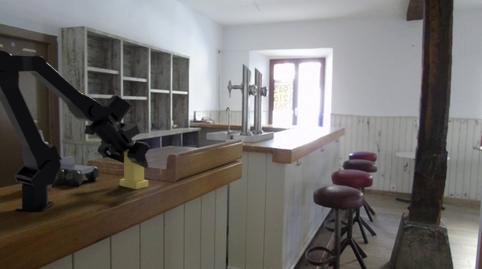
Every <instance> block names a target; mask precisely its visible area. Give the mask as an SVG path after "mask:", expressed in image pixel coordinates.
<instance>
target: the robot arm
mask: <svg viewBox="0 0 482 269" xmlns="http://www.w3.org/2000/svg"><path fill="white" fill-rule="evenodd" d="M21 72H23V73H25V72H28V73H30V74H31V75H32V76H33V77H34V78H36V79H37V80H38V81H39V82H41V83H42V84H43V85H44V86H45V87H47V89H49V90H50V91H51V92H53V94H55V95H56V96H57V97H59V98H60V100H62V101H63V102H64V104H66V106H67V109H68V111H69V112H70V113H71V114H72V115H73V116H74V117H75V119H77V120H78V121H85V122H90V124H85V126H84V127H85V128H84V134H85V135H90V136H94V135H96V136H97V137H98V138H99V139H100V145H99V146H98V147H97V153H98V154H99V155H100V156H101V157H104V158H108V159H110V160H112V161H116V162H118V163H121V164H123V165H124V152H128V153H127V157H128V159H130V160H131V162H133V163H135V164H137V165H139V166H142V167H144V169H148V168H149V164H148V161H147V156H146V154H147V152H148V151H149V150H150V148H151V147H150V145H149V144H148V143H147V142H144V141H135V142H134V143H133V144H131V143H132V142H133V138H134V137H136V136H137V135H140V134H141V131H140V128H139V126H138V123H133V122H128V123H124V122H122V121H123V120H124V118H125V117H126V116H127V114H128V113H129V112H130V111H131V110H132V106H131V104H130V103H129V102H128V101H126V99H123V98H122V97H120V96H119V95H118V94H112V96H110V98H109V100H108V101H107V102H106V104H105V105H102V103H100V102H99V101H98V100H95V99H94V98H92V97H91V96H89V95H86V94H84V93H82V92H81V91H80V90H78V89H77V88H76V87H75V86H73V85H72V83H70V82H69V81H68V80H67V79H66V78H65V77H64V76H63V75H61V74H60V73H59V71H57V70H56V69H55V68H53V66H52V65H50V63H48V62H47V60H46V59H45V58H44V57H43V56H41V55H38V54H37V55H19V54H18V55H15V54H14V55H12V54H11V53H9V52H7V51H5V50H0V103H1V105H2V107H3V109H4V112H5V113H6V115H7V117H8V120H9V121H10V123H11V126H12V128H13V129H14V131H15V134H16V135H17V137H18V141H19V142H20V145H21V146H22V154H21V155H22V156H21V157H22V161H23V165H22V167H20V168H19V169H18V171H17V172H16V173H15V174H14V178H15V181H16V182H17V183H21V205H19V206H16V208H15V209H14V210H15V211H24V212H25V211H31V212H33V211H35V212H40V211H41V212H42V211H45V210H46V209H48V208H50V207H51V206H53V205H55V201H49V190H48V185H52V186H53V185H54V184H55V183H54V181H55V178H56V175H57V173H58V172H59V170H60V168H61V162H60V160H62V158H63V157H61V156H60V155H59V152H58V148H57V146H56V145H54V144H49V143H48V144H46V143H45V142H46V141H45V140H44V141H43V139H42V137H41V135H40V133H39V131H38V130H39V128H38V126H37V125H36V122H35V120H34V118H33V116H32V112H31V111H30V109H29V107H28V105H27V102H26V101H25V100H26V99H25V98H24V96H23V94H22V91H21V89H20V73H21ZM115 123H117V124H116V125H115Z"/></svg>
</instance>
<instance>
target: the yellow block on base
mask: <svg viewBox="0 0 482 269" xmlns="http://www.w3.org/2000/svg"><path fill="white" fill-rule="evenodd" d="M127 153H128V152H123V154H124V164H123V178H120V179H119V186H121V187H124V188H129V189H134V190H139V189H143V188H144V189H145V188H148V187H149V180H147V179H145V168H144V167H142V166H139V165H137V164H135V163H133V162H131V160H130V159H128V157H127Z"/></svg>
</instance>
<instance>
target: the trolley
mask: <svg viewBox="0 0 482 269" xmlns="http://www.w3.org/2000/svg"><path fill="white" fill-rule="evenodd" d="M61 158H62V160H60V162H61V168H60V170H59V172H58V173H57V175H56V178H55V181H54V183H53V184H55V185H62V184H65V183H66V182H67V184H69V185H70V186H71V187H76V186H79V185H81V184H83V182H84V178H86V180H88V181H91V182H92V181H93V182H94V181H95V180H98V179H99V178H100V175H101V170H100V168H99V167H98V166H96V165H82V164H78V163H77V164H75V162H76V160H75V158H76V156H75V155H71V156H64V157H61ZM84 176H85V177H84Z"/></svg>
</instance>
